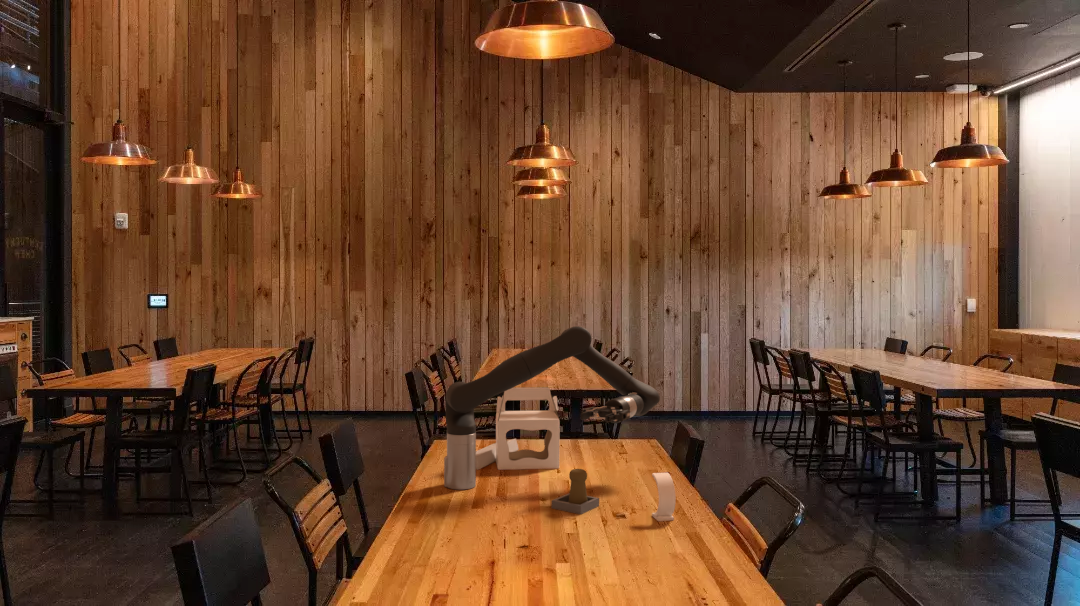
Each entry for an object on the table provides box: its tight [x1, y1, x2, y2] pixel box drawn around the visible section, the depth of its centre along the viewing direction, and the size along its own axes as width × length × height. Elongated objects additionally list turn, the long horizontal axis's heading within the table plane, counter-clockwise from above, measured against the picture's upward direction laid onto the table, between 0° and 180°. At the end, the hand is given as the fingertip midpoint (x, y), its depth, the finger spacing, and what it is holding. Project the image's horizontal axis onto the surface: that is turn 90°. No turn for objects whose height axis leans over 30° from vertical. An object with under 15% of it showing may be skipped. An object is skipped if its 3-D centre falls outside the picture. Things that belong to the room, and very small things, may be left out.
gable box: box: [495, 386, 561, 471], centre depth 266 cm, size 22×13×28 cm, turn 96°
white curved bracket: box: [651, 472, 677, 522], centre depth 205 cm, size 5×6×12 cm
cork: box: [568, 468, 588, 505], centre depth 215 cm, size 6×6×11 cm
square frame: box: [551, 492, 600, 515], centre depth 215 cm, size 10×10×2 cm
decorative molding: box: [476, 438, 519, 470], centre depth 277 cm, size 34×5×10 cm
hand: (594, 418), depth 223 cm, fingers open, 8 cm apart
